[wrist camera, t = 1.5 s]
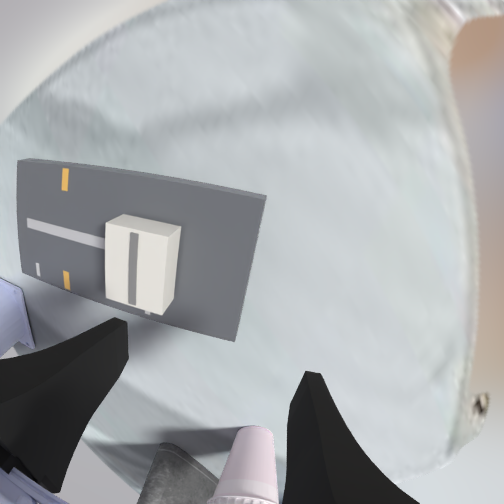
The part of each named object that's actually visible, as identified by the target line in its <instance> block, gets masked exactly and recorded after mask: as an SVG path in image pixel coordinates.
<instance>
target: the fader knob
mask: <svg viewBox="0 0 504 504" xmlns="http://www.w3.org/2000/svg"><path fill="white" fill-rule="evenodd" d="M180 233H181V226H177V225H172V224H168V223H163V222H158V221H154V220H149V219H144V218H140V217H135V216H130V215H126V214H123V215H120V216H118V217H116V218H114V219H112V220H110V221H108V222H106V230H105V287H106V298H108V299H111V300H114V301H117V302H120V303H123V304H126V305H129V306H133V307H136V308H139V309H142V310H146V311H149V312H152V313H156V314H159V315H163V313H164V312H165V310H166V309H167V308H168V306H169V305H170V303H171V302H172V300H173V299H174V289H175V279H176V268H177V259H178V250H179V241H180Z"/></svg>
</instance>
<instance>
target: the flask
mask: <svg viewBox="0 0 504 504" xmlns="http://www.w3.org/2000/svg"><path fill="white" fill-rule="evenodd" d="M218 482H219V480H218V479H217V478H216V477H215V476H214V475H213V474H212V473H211V472H210V471H208V470H207V469H206V468H205V467H204V466H203V465H201V464H200V463H199V462H198V461H196V460H195V459H194V458H192V457H191V456H190V455H188V454H187V453H186V452H184V451H183V450H182V449H180V448H179V447H177V446H175V445H173V444H170V443H162V444H160V447H159V449H158V452H157V454H156V457H155V459H154V462H153V464H152V467H151V469H150V472H149V474H148V477H147V479H146V482H145V484H144V487H143V489H142V492H141V494H140V497H139V499H138V502H137V504H207V501H208V500H209V499H210V498H212V497H213V495H214V493H215V490H216V487H217V485H218Z"/></svg>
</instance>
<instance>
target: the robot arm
mask: <svg viewBox="0 0 504 504" xmlns="http://www.w3.org/2000/svg"><path fill="white" fill-rule="evenodd" d="M18 341H19V342H20V343H22V344H24V345H25V346H27V347H29V348H31V349H34V348H35V344H34V341H33V337H32V333H31V329H30V325H29V321H28V316H27V312H26V307H25V302H24V296H23V292H22V290H21V289H20V288H19V287H17V286H15V285H13V284H11V283H9V282H7V281H5V280H3V279H1V278H0V357H1V356H2V355H3V354H4V353H6V352H7V350H9V349H10V348H11V347H12V346H13V345H14V344H15V343H16V342H18ZM128 359H129V355H128V329H127V322H126V321H124V320H121V319H118V318H115V317H114V318H112V319H110V320H108V321H106V322H104V323H102V324H100V325H98V326H96V327H94V328H92V329H90V330H88V331H86V332H84V333H82V334H80V335H78V336H75V337H73V338H71V339H69V340H66V341H64V342H62V343H59V344H57V345H55V346H52V347H49V348H47V349H44V350H41V351H37V352H34V353H31V354H27V355H22V356H17V357H13V358H8V359H0V504H37V502H38V503H39V504H68V503H67V502H65V501H64V500H62V499H60V498H58V497H57V496H55V495H54V494H52V493H59V492H60V491H61V487H62V483H63V481H64V478H65V475H66V471H67V468H68V466H69V463H70V461H71V458H72V456H73V453H74V451H75V449H76V447H77V444H78V442H79V440H80V438H81V436H82V434H83V432H84V430H85V428H86V426H87V424H88V422H89V420H90V419H91V417H92V415H93V414H94V412H95V411H96V410H97V408H98V407H99V405H100V404H101V402H102V401H103V400H104V398H105V397H106V395H107V394H108V392H109V391H110V390H111V388H112V387H113V385H114V384H115V382H116V381H117V380H118V378H119V376H120V375H121V373H122V371H123V369H124V367H125V365H126V363H127V361H128ZM32 480H33V481H32ZM35 482H36V483H35ZM47 490H48V491H47ZM50 492H51V493H50ZM282 504H420V503H419V502H417V501H416V500H414V499H413V498H411V497H410V496H409V495H407V494H406V493H405V492H403V491H402V490H401V489H399V488H398V487H397V486H396V485H395V484H394V483H393V482H392V481H390V480H389V479H388V478H387V477H386V476H385V475H384V474H383V473H382V472H381V471H380V470H379V468H378V467H377V466H376V465H375V464H374V463H373V462H372V461H371V460H370V458H369V457H368V456H367V455H366V454H365V452H364V451H363V450H362V448H361V447H360V446H359V444H358V443H357V441H356V440H355V438H354V437H353V435H352V434H351V432H350V430H349V429H348V427H347V425H346V424H345V422H344V420H343V418H342V416H341V415H340V413H339V411H338V409H337V407H336V405H335V403H334V401H333V399H332V397H331V395H330V392H329V390H328V388H327V386H326V384H325V381H324V379H323V377H322V375H321V373H315V372H310V371H305V373H304V375H303V378H302V380H301V382H300V384H299V386H298V388H297V391H296V393H295V395H294V397H293V399H292V401H291V403H290V409H289V416H288V423H287V471H286V483H285V490H284V496H283V502H282Z"/></svg>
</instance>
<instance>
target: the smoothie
mask: <svg viewBox="0 0 504 504" xmlns="http://www.w3.org/2000/svg"><path fill="white" fill-rule="evenodd" d="M207 504H279V502H278V488H277V475H276V462H275V450H274V437H273V434H272V432H271V431H269V430H268V429H266V428H263V427H259V426H246V427H243V428H241V429H240V430H238V432H237V435H236V438H235V440H234V443H233V446H232V448H231V451H230V454H229V456H228V459H227V462H226V464H225V467H224V470H223V472H222V475H221V477H220V480H219V482H218V485H217V487H216V490H215V493H214V495H213V497H212V498H210V499H209V500H208V501H207Z"/></svg>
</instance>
